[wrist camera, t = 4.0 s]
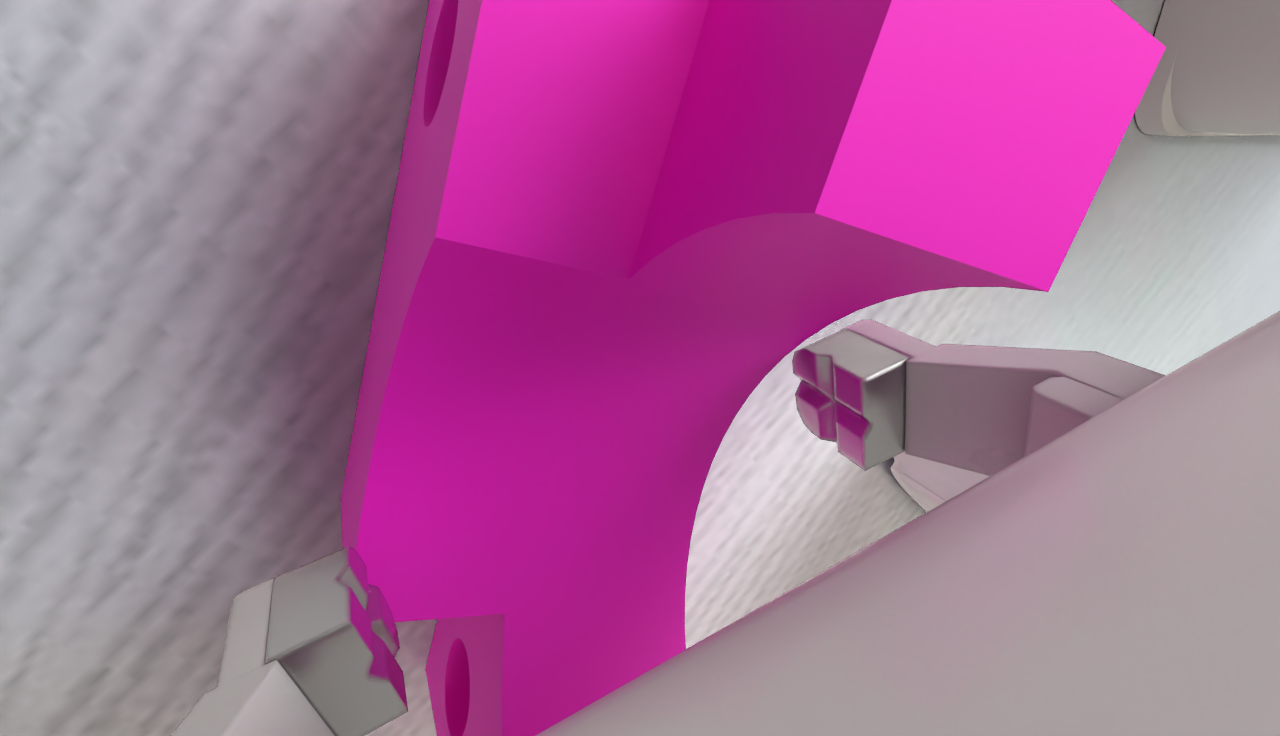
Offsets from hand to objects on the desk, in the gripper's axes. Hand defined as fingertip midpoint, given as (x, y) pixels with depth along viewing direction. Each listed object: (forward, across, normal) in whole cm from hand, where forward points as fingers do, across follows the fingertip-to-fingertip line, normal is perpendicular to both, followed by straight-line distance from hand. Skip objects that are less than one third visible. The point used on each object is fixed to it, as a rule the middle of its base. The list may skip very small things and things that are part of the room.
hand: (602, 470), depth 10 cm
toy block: (+4, 0, 0) cm, 4 cm away
